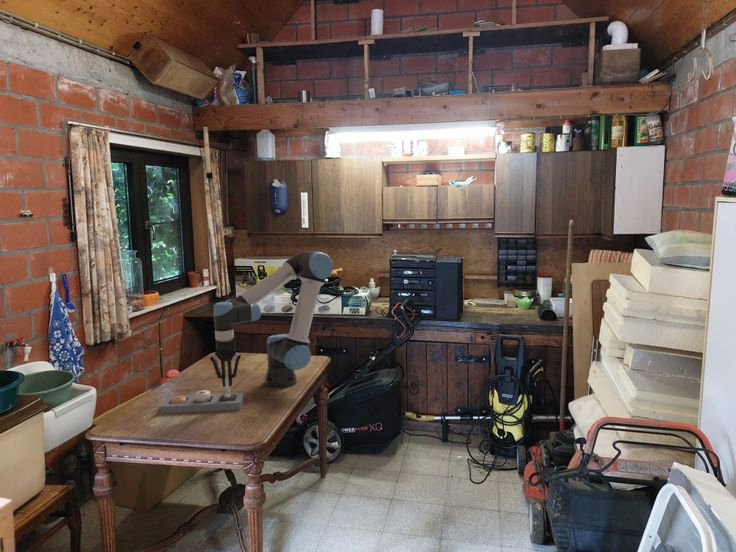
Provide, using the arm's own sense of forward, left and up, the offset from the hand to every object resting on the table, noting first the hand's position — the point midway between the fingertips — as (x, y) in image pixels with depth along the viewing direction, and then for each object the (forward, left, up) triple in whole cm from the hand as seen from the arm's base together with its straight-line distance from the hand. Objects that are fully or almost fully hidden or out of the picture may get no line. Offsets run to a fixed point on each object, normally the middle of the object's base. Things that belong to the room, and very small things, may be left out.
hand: (228, 393), depth 227 cm
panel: (+10, 0, -5) cm, 11 cm away
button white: (+10, 0, -3) cm, 11 cm away
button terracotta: (+20, 0, -5) cm, 21 cm away
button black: (0, 0, -5) cm, 5 cm away
